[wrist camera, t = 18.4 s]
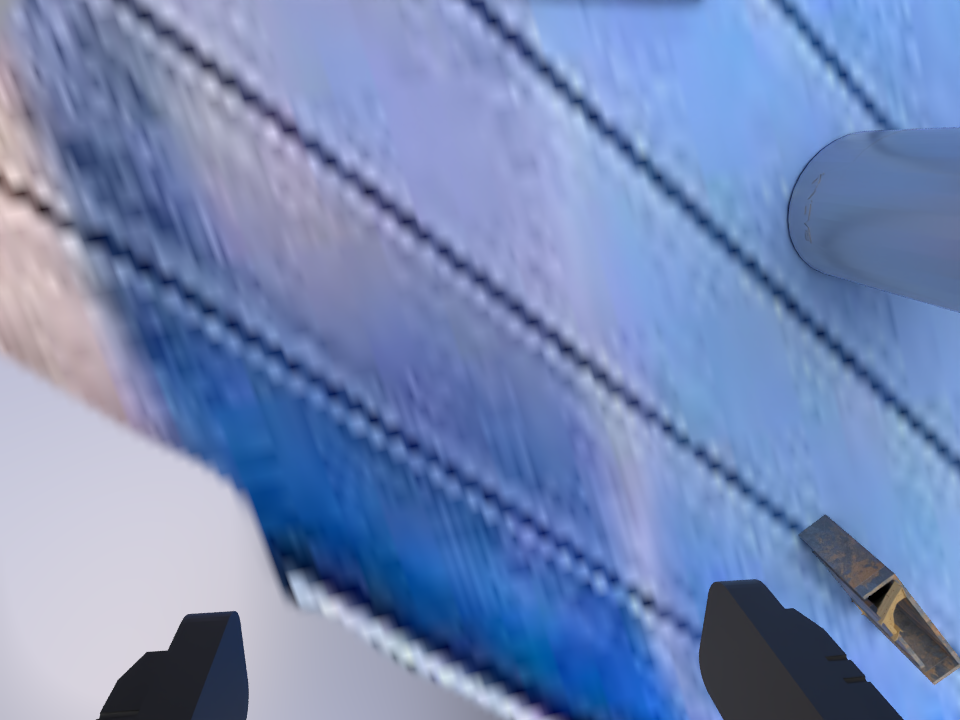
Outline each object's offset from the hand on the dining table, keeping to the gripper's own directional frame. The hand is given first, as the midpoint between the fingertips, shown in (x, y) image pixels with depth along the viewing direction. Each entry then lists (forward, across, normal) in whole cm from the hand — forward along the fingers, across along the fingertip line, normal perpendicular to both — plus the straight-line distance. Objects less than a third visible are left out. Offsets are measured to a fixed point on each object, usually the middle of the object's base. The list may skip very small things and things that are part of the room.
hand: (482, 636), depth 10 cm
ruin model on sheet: (+31, -34, +24) cm, 51 cm away
